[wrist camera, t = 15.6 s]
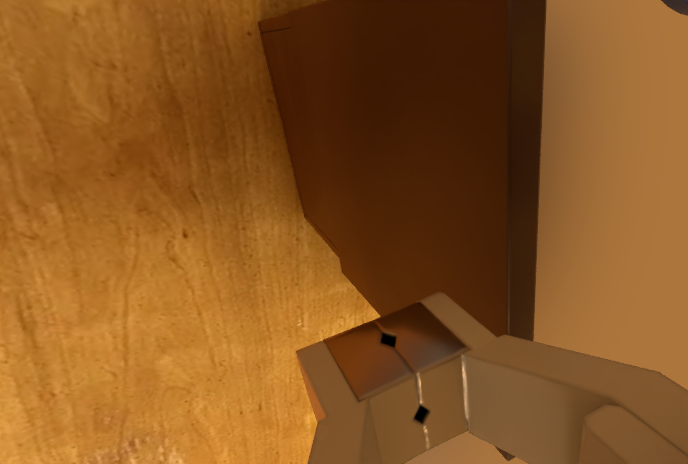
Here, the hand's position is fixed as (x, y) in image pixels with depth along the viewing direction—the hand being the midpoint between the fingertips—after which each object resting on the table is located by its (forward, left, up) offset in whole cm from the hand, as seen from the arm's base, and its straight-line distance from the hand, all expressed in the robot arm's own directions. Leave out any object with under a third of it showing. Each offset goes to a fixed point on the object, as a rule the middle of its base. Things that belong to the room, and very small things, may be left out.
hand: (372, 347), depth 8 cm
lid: (-4, 0, -6) cm, 7 cm away
